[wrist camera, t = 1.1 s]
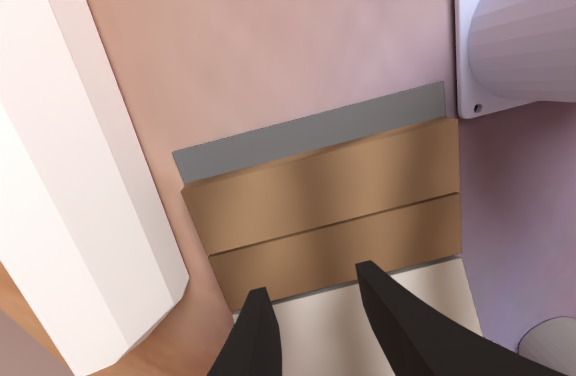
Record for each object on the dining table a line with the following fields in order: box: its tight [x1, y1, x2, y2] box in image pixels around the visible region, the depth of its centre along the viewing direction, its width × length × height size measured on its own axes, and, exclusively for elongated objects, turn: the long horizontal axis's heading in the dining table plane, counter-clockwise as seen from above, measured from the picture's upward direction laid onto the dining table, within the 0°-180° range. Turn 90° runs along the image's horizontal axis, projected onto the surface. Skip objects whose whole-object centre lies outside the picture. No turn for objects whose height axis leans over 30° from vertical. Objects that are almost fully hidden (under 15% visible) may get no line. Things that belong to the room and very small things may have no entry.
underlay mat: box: [172, 81, 446, 185], centre depth 20 cm, size 16×21×1 cm
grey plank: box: [232, 255, 483, 376], centre depth 20 cm, size 16×9×2 cm, turn 104°
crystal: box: [0, 0, 189, 376], centre depth 14 cm, size 7×7×24 cm
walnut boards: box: [181, 117, 462, 311], centre depth 18 cm, size 16×9×2 cm, turn 104°
